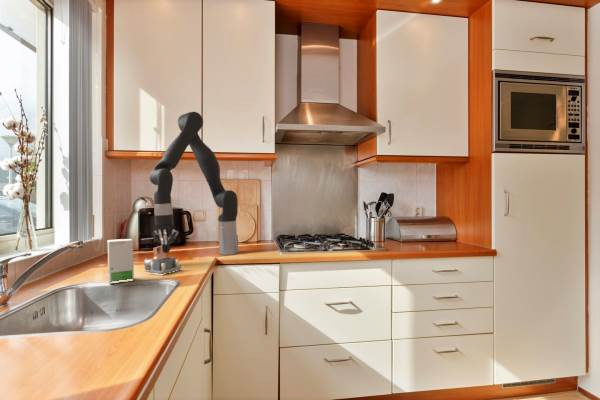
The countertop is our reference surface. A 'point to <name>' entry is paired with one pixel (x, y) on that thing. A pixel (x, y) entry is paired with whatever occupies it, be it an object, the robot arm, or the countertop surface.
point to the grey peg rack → (155, 255)
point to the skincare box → (120, 259)
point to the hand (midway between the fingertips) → (166, 252)
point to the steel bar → (168, 261)
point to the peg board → (164, 268)
